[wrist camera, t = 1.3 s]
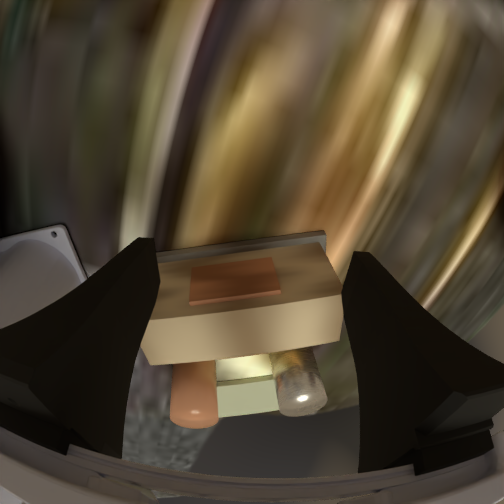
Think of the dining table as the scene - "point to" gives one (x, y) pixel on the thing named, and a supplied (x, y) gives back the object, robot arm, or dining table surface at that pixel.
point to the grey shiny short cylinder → (297, 381)
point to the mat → (246, 396)
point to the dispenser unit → (244, 300)
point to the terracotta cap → (194, 394)
